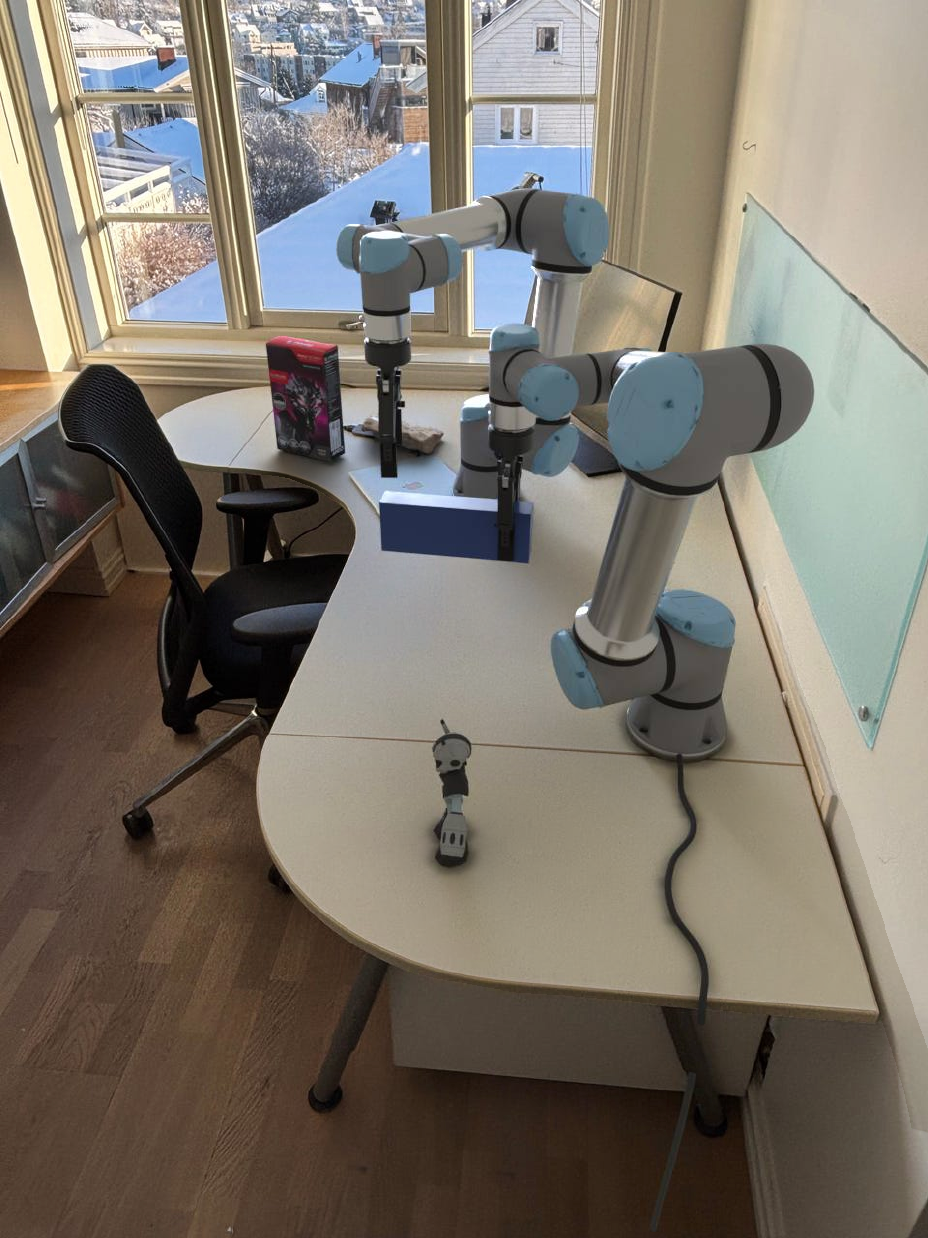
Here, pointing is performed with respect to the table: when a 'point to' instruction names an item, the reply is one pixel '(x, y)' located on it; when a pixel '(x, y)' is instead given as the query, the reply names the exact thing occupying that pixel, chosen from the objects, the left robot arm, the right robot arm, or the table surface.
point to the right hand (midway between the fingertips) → (507, 552)
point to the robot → (452, 796)
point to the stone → (409, 434)
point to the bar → (450, 526)
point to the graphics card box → (306, 397)
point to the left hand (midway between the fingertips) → (392, 460)
